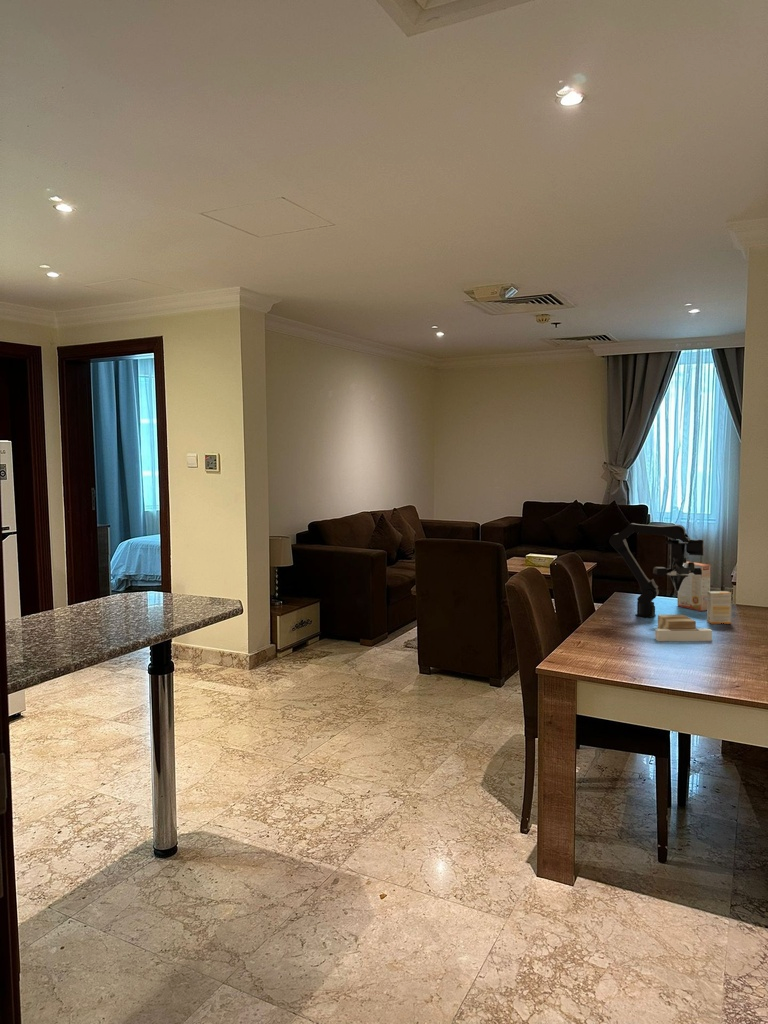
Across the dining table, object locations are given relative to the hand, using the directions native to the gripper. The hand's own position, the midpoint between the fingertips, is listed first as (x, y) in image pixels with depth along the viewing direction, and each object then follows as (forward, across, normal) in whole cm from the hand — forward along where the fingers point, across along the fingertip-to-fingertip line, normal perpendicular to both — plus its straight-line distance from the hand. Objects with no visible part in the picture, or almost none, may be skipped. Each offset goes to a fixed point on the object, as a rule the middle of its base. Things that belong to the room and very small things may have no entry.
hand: (677, 590), depth 305 cm
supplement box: (+12, +14, -8) cm, 21 cm away
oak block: (+12, -11, -29) cm, 34 cm away
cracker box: (+12, +16, +21) cm, 29 cm away
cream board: (+12, -11, -37) cm, 40 cm away
